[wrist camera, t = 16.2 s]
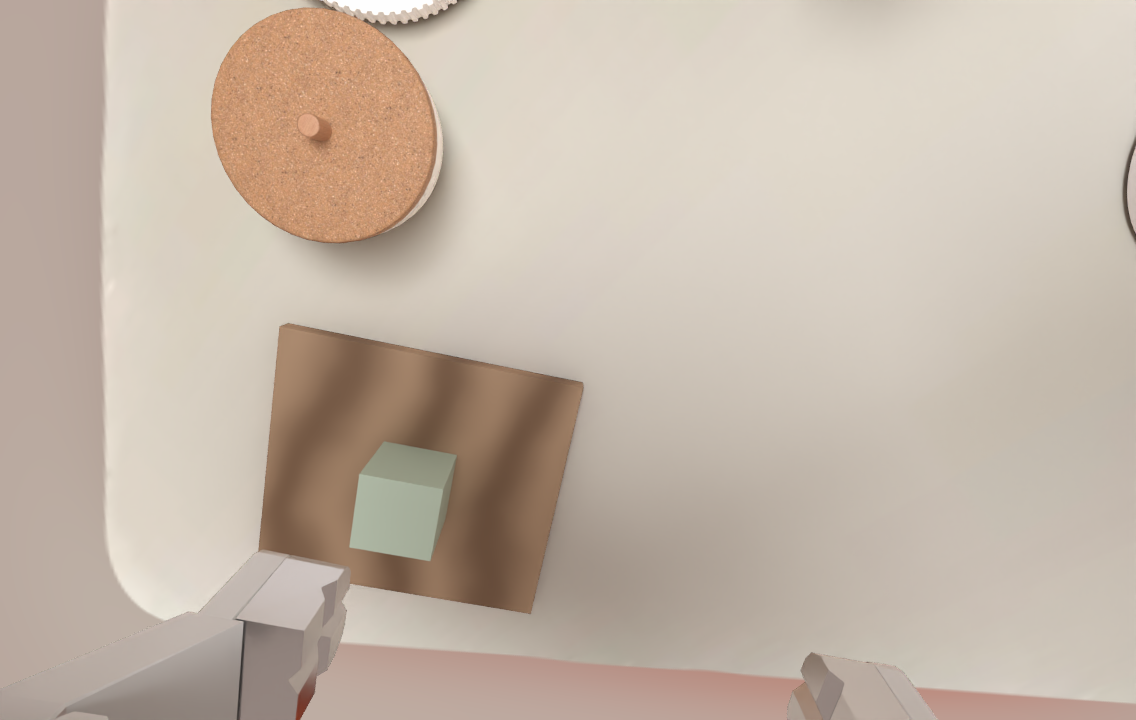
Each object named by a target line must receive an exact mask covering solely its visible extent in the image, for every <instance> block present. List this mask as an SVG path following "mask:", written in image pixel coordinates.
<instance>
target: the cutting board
mask: <svg viewBox="0 0 1136 720" xmlns="http://www.w3.org/2000/svg"><path fill="white" fill-rule="evenodd" d="M582 391H583V383H582V382H578V381H573V380H568V379H563V378H558V377H553V376H548V375H543V374H538V373H533V372H528V371H523V370H518V369H513V368H508V367H503V366H498V365H493V364H488V363H483V362H478V361H473V360H468V359H463V358H458V357H453V356H448V355H443V354H438V353H433V352H428V351H424V350H419V349H414V348H409V347H404V346H399V345H394V344H389V343H384V342H379V341H374V340H369V339H364V338H359V337H354V336H349V335H344V334H339V333H334V332H329V331H324V330H319V329H314V328H309V327H304V326H299V325H294V324H289V323H288V324H285V325H283V326H280V328H279V338H278V349H277V360H276V370H275V381H274V391H273V402H272V413H271V423H270V434H269V445H268V455H267V466H266V477H265V487H264V498H263V508H262V519H261V530H260V540H259V551H260V550H268V551H273V552H278V553H283V554H288V555H295V556H299V557H304V558H309V559H314V560H319V561H323V562H328V563H333V564H338V565H343V566H347V567H349V568H350V570H351V576H350V584H355V585H361V586H367V587H373V588H379V589H385V590H391V591H397V592H403V593H409V594H415V595H421V596H427V597H433V598H439V599H445V600H451V601H457V602H463V603H469V604H475V605H481V606H487V607H493V608H499V609H505V610H511V611H517V612H523V613H529V614H531V610H532V605H533V601H534V597H535V593H536V588H537V584H538V580H539V576H540V571H541V567H542V563H543V558H544V554H545V550H546V546H547V541H548V537H549V533H550V528H551V524H552V520H553V516H554V511H555V507H556V503H557V498H558V494H559V490H560V486H561V481H562V477H563V473H564V468H565V464H566V460H567V456H568V451H569V447H570V443H571V438H572V434H573V430H574V426H575V421H576V417H577V413H578V408H579V404H580V400H581V396H582ZM384 441H385V442H390V443H396V444H401V445H406V446H412V447H417V448H422V449H428V450H433V451H438V452H444V453H449V454H454V455H457V458H456V463H455V469H454V474H453V480H452V485H451V491H450V496H449V502H448V507H447V513H446V518H445V522H444V524H443V527H442V530H441V533H440V536H439V538H438V541H437V544H436V547H435V550H434V552H433V555H432V558H431V561H426V560H420V559H414V558H408V557H403V556H397V555H391V554H385V553H379V552H373V551H368V550H362V549H356V548H350V547H349V546H350V538H351V531H352V524H353V517H354V509H355V502H356V495H357V488H358V480H359V474H360V473H361V471H362V470H363V469H364V467H365V466H366V465H367V463H368V462H369V461H370V459H371V458H372V457H373V455H374V454H375V453H376V451H377V450H378V449H379V447H380V446H381V445H382V443H383V442H384Z"/></svg>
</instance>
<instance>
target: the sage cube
mask: <svg viewBox="0 0 1136 720" xmlns="http://www.w3.org/2000/svg"><path fill="white" fill-rule="evenodd" d="M456 458H457V455H454V454H449V453H444V452H438V451H433V450H428V449H422V448H417V447H412V446H406V445H401V444H396V443H390V442H385V441H384V442H383V443H382V445H381V446H380V447H379V449H378V450H377V451H376V453H375V454H374V455H373V457H372V458H371V459H370V461H369V462H368V463H367V465H366V466H365V467H364V469H363V470H362V471H361V473H360V474H359V480H358V488H357V495H356V502H355V509H354V517H353V524H352V531H351V538H350V546H349V547H350V548H356V549H362V550H368V551H373V552H379V553H385V554H391V555H397V556H403V557H408V558H414V559H420V560H426V561H431V558H432V555H433V552H434V550H435V547H436V544H437V541H438V538H439V536H440V533H441V530H442V527H443V524H444V522H445V518H446V513H447V507H448V502H449V496H450V491H451V485H452V480H453V474H454V469H455V463H456Z"/></svg>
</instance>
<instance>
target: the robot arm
mask: <svg viewBox="0 0 1136 720" xmlns="http://www.w3.org/2000/svg"><path fill="white" fill-rule="evenodd" d="M1127 200H1128V209H1129V215H1130V219H1131V223H1132V226H1133V228H1134V231H1135V233H1136V147H1135V150H1134V153H1133V157H1132V161H1131V164H1130V170H1129V176H1128V185H1127ZM350 576H351V570H350V568H349V567H347V566H343V565H338V564H333V563H328V562H323V561H319V560H314V559H309V558H304V557H299V556H295V555H288V554H283V553H278V552H273V551H268V550H260V551H258V552H256V553H254V554H253V555H252V556H251V557H250V558H249V559H248V561H247V562H246V563H245V564H244V565H243V566H242V567H241V568H240V569H239V570H238V571H237V572H236V573H235V574H234V575H233V576H232V577H231V579H230V580H229V581H228V582H227V583H226V584H225V585H224V586H223V587H222V588H221V589H220V590H219V591H218V592H217V593H216V594H215V595H214V596H213V598H212V599H211V600H210V601H209V602H208V603H207V604H206V605H205V606H204V607H203V608H202V609H201V610H200V611H199V612H198V613H194V612H186V613H184V614H181V615H179V616H176V617H174V618H171V619H169V620H167V621H164V622H162V623H159V624H157V625H154V626H152V627H150V628H147V629H145V630H142V631H140V632H138V633H135V634H133V635H130V636H128V637H125V638H123V639H120V640H118V641H116V642H113V643H111V644H108V645H106V646H103V647H101V648H99V649H96V650H94V651H91V652H89V653H86V654H84V655H82V656H79V657H77V658H74V659H72V660H69V661H67V662H64V663H62V664H60V665H57V666H55V667H52V668H50V669H47V670H45V671H43V672H40V673H38V674H35V675H33V676H30V677H28V678H25V679H23V680H21V681H18V682H16V683H13V684H11V685H8V686H6V687H4V688H1V689H0V720H300V719H301V717H302V715H303V713H304V712H305V710H306V708H307V706H308V704H309V703H310V701H311V699H312V697H313V695H314V693H315V685H316V677H317V676H318V675H320V674H321V673H323V672H325V671H326V670H327V669H328V667H329V665H330V664H331V662H332V660H333V658H334V656H335V653H336V650H337V648H338V645H339V643H340V640H341V637H342V633H343V629H344V625H345V619H346V612H347V610H346V608H345V606H344V605H343V603H342V600H343V598H344V596H345V595H346V593H347V591H348V590H349V587H350ZM801 673H802V675H803V678H804V680H805V683H803V684H802V685H801V686H799V687H798V688H796V689H795V690H793V692H792V695H791V698H790V701H789V704H788V709H787V710H788V712H787V720H938V719H937V718H936V716H935V715H934V714H933V712H932V711H931V709H930V708H929V707H928V705H927V704H926V703H925V701H924V700H923V698H922V697H921V696H920V694H919V693H918V691H917V690H916V689H915V687H914V686H913V684H912V683H911V682H910V680H909V679H908V677H907V676H906V675H905V673H904V672H903V671H901V670H900V669H899V668H897V667H896V666H892V665H886V664H879V663H873V662H862V661H856V660H850V659H845V658H839V657H834V656H828V655H822V654H817V653H811V654H810V655H809V656H808V657H807V658H806V659H805V661H804V663H803V666H802V668H801Z"/></svg>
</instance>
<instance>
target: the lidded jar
mask: <svg viewBox="0 0 1136 720" xmlns="http://www.w3.org/2000/svg"><path fill="white" fill-rule="evenodd" d="M211 121H212V130H213V137H214V141H215V145H216V148H217V152H218V155H219V158H220V160H221V162H222V165H223V167H224V169H225V172H226V173H227V175H228V177H229V178H230V180H231V182H232V183H233V185H234V187H235V188H236V190H237V191H238V192H239V193H240V195H241V196H242V197H243V198H244V200H245V201H246V202H247V203H248V204H249V205H250V206H251V207H252V208H253V209H254V210H255V211H256V212H257V213H259V214H260V215H261V216H262V217H263V218H265V219H266V220H268V221H269V222H271V223H272V224H273V225H275V226H277V227H278V228H280V229H282V230H284V231H286V232H288V233H290V234H293V235H295V236H298V237H301V238H304V239H307V240H312V241H318V242H323V243H346V242H354V241H360V240H364V239H367V238H370V237H374V236H377V235H379V234H381V233H385V232H387V231H389V230H391V229H393V228H395V227H397V226H399V225H401V224H402V223H404V222H405V221H406V220H408V219H409V218H410V217H412V216H413V215H414V214H415V213H416V212H417V211H418V210H419V209H420V208H421V207H422V206H423V205H424V203H425V202H426V201H427V199H428V198H429V196H430V195H431V193H432V191H433V189H434V187H435V185H436V182H437V180H438V177H439V173H440V170H441V165H442V157H443V135H442V129H441V123H440V119H439V116H438V113H437V110H436V107H435V104H434V101H433V99H432V97H431V95H430V93H429V91H428V89H427V87H426V85H425V84H424V83H423V81H422V80H421V78H420V76H419V74H418V72H417V71H416V69H415V68H414V67H413V65H412V64H411V62H410V61H409V59H408V58H407V57H406V56H405V55H404V54H403V53H402V51H401V50H400V49H399V48H398V47H397V46H396V45H395V44H394V43H393V42H392V41H391V40H390V39H389V38H387V37H386V36H385V35H384V34H382V33H381V32H380V31H379V30H377V29H376V28H374V27H373V26H371V25H369V24H367V23H366V22H364V21H362V20H361V19H358V18H356V17H353V16H351V15H348V14H346V13H343V12H339V11H334V10H330V9H325V8H298V9H291V10H286V11H283V12H280V13H277V14H274V15H271V16H269V17H267V18H265V19H264V20H262V21H260V22H258V23H256V24H255V25H253V26H252V27H251V28H250V29H249V30H247V31H246V32H245V33H244V34H243V35H241V37H240V38H239V39H238V40H237V41H236V43H235V44H234V45H233V46H232V47H231V49H230V50H229V52H228V54H227V55H226V57H225V59H224V61H223V62H222V64H221V66H220V69H219V72H218V75H217V77H216V80H215V84H214V90H213V95H212V104H211Z"/></svg>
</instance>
